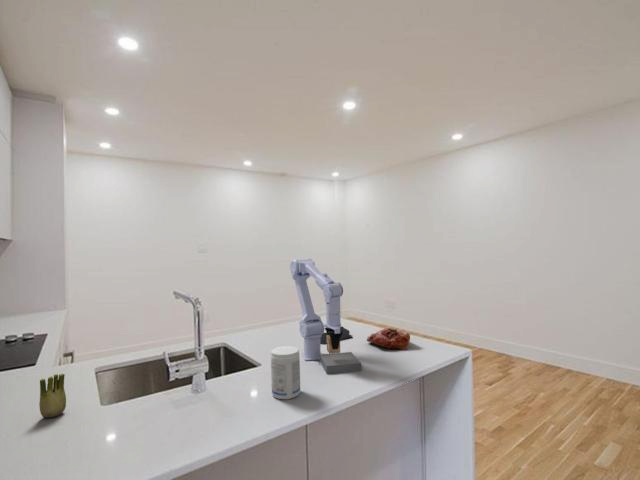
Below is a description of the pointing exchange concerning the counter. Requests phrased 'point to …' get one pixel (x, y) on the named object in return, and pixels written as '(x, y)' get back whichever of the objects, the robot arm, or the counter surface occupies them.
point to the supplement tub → (285, 372)
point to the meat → (390, 339)
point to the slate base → (339, 362)
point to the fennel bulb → (52, 396)
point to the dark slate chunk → (344, 337)
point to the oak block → (329, 346)
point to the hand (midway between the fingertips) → (333, 347)
